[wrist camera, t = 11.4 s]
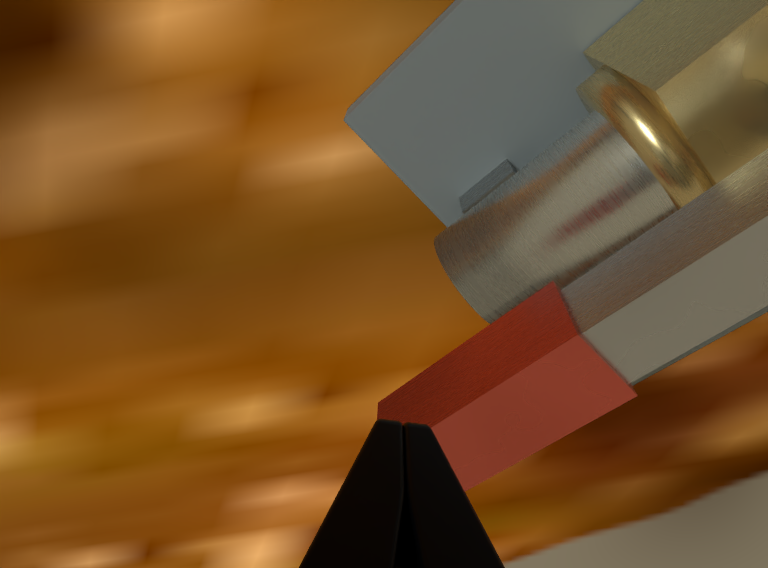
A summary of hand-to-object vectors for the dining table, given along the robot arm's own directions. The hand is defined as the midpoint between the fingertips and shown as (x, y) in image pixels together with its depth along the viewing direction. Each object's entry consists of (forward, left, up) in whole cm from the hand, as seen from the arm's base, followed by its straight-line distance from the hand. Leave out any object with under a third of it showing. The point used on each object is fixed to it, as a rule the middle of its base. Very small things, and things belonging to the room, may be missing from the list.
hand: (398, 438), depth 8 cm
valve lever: (-4, +3, -4) cm, 7 cm away
